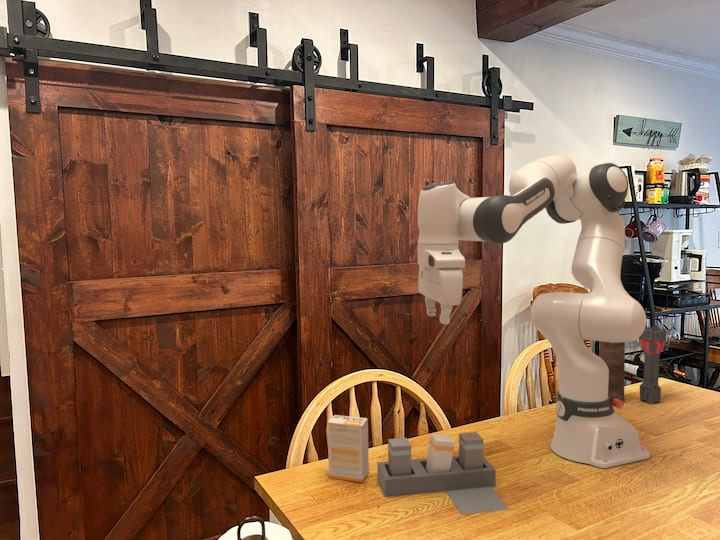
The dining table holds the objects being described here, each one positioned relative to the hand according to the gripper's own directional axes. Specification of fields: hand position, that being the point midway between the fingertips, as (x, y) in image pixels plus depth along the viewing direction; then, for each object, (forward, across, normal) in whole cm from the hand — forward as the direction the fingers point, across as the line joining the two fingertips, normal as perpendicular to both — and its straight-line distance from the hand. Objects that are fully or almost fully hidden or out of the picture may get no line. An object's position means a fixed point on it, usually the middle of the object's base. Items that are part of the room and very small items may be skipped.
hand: (437, 319), depth 116 cm
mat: (+35, +13, +4) cm, 38 cm away
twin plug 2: (+33, +5, +6) cm, 34 cm away
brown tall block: (+35, -36, +68) cm, 85 cm away
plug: (+33, +5, -2) cm, 33 cm away
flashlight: (+35, -34, +80) cm, 94 cm away
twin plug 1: (+33, +5, -10) cm, 35 cm away
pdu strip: (+35, +5, -2) cm, 35 cm away
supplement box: (+35, -2, -20) cm, 41 cm away
